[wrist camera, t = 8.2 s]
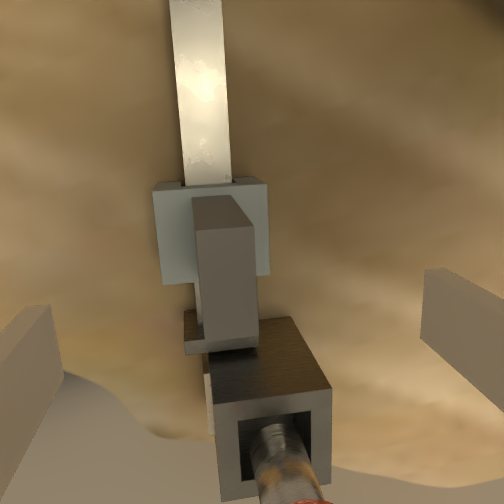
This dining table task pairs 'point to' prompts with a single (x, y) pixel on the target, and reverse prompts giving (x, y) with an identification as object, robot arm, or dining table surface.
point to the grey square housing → (266, 403)
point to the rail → (202, 126)
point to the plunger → (283, 467)
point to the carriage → (216, 249)
